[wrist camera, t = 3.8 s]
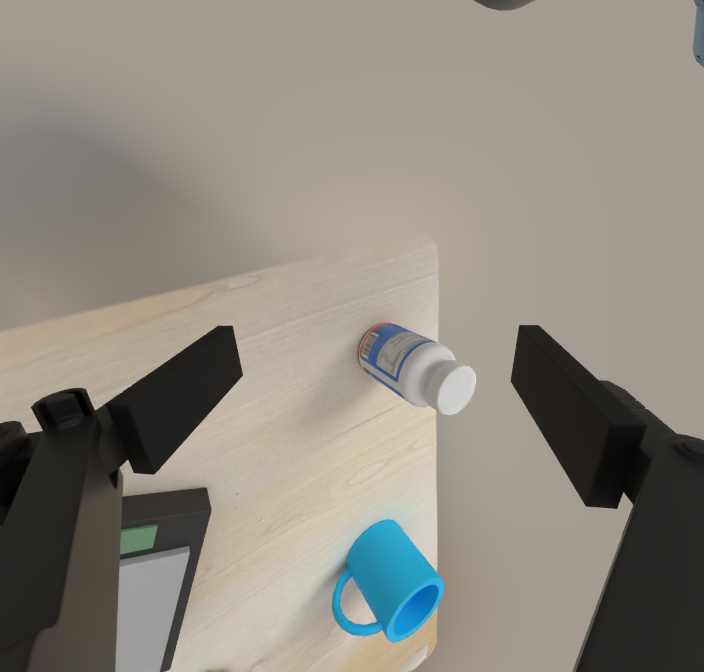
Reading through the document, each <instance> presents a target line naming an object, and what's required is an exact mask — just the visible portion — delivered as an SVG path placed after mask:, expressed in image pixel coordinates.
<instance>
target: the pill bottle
mask: <svg viewBox="0 0 704 672" xmlns="http://www.w3.org/2000/svg"><path fill="white" fill-rule="evenodd" d="M359 361H360V364H361V366H362V368H363V369H364V370H365V371H366V372H367V373H368V374H369V375H371V376H372V377H374V378H375V379H377V380H378V381H379V382H381V383H382V384H384V385H385V386H386V387H388V388H389V389H391V390H392V391H394V392H395V393H396V394H398V395H399V396H401V397H402V398H403V399H405V400H406V401H408V402H409V403H411V404H412V405H415V406H418V407H428V406H431V407H432V408H434V409H436V410H437V411H439V412H440V413H442V414H444V415H453V414H456V413H458V412H459V411H461V410H462V409H463V408H464V407H465V406H466V405H467V403H468V402H469V400H470V399H471V397H472V395H473V393H474V390H475V385H476V376H475V373H474V371H473V370H472V369H471V368H470V367H468V366H467V365H465V364H463V363H461V362H459V361H456V360H455V357H454V355H453V353H452V352H451V351H450V350H449V349H448V348H447V347H445V346H443V345H441V344H439V343H437V342H434V341H432V340H430V339H427V338H425V337H423V336H420V335H418V334H416V333H413V332H411V331H409V330H406V329H404V328H402V327H400V326H397V325H395V324H391V323H383V324H379V325H377V326H375V327H373V328H372V329H371V330H369V331H368V333H367V334H366V335H365V337H364V338H363V340H362V342H361V345H360V349H359Z"/></svg>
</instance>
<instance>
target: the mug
mask: <svg viewBox="0 0 704 672" xmlns="http://www.w3.org/2000/svg"><path fill="white" fill-rule="evenodd" d="M347 567H348V569H347V570H346V571H345V572H344V573H343V575H342V576H341V577H340V579H339V580H338V582H337V584H336V587H335V590H334V592H333V598H332V610H333V614H334V618H335V620H336V622H337V623H338V624H339V626H340V627H341V628H342V629H343V630H345V631H346V632H348V633H350V634H352V635H357V636H368V635H372V634H376V633H378V632H380V631H382V630H383V632H384V633H385V635H386V637H387V639H388V641H391V642H398V641H401V640H403V639H405V638H407V637H409V636H410V635H411V634H413V633H414V632H415V631H416V630H418V629H419V628H420V627H421V626H422V625H423V624H424V623H425V622H426V620H427V619H428V618H429V617H430V615H431V614H432V613H433V611H434V610H435V608H436V607H437V605H438V604H439V601H440V599H441V597H442V595H443V590H444V581H443V580H442V579H441V577H440V576H439V575H438V574H437V572H436V571H435V570H434V569H433V567H432V566H431V565H430V564H429V562H428V561H427V560H426V559H425V557H424V556H423V555H422V554H421V552H420V551H419V550H418V549H417V547H416V546H415V545H414V544H413V542H412V541H411V540H410V539H409V538H408V536H407V535H406V534H405V533H404V531H403V530H402V529H401V528H400V526H399V525H398V524H397V523H396V522H395V521H392V520H385V521H381V522H379V523H377V524H375V525H373V526H372V527H370V528H369V529H368V530H366V531H365V532H364V533H363V534H362V535H361V536H360V537H359V538H358V539H357V541H356V542H355V544H354V545H353V547H352V548H351V550H350V553H349V555H348V558H347ZM351 576H352V577H353V579H354V580H355V582H356V584H357V586H358V587H359V589H360V591H361V593H362V594H363V596H364V598H365V600H366V602H367V603H368V605H369V607H370V609H371V610H372V612H373V614H374V616H375V618H376V619H377V622H375V623H371V624H367V625H361V624H354V623H353V622H351V621H349V620H347V618H346V617H345V616H344V614H343V613H342V610H341V607H340V595H341V592H342V589H343V587H344V585H345V584H346V582H347V581H348V579H349V578H350V577H351Z"/></svg>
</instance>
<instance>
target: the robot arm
mask: <svg viewBox="0 0 704 672" xmlns="http://www.w3.org/2000/svg"><path fill="white" fill-rule="evenodd" d="M694 2H695V4H696V6H697V11H696V22H695V23H696V24H695V32H694V43H693V52H694V56H695V59H696V61H697V62H698V63H699V64H700V65H702V66H703V67H704V0H694ZM242 376H243V373H242V368H241V364H240V359H239V354H238V349H237V345H236V340H235V335H234V330H233V326H217V327H216V328H214V329H213V330H211V331H210V332H208V333H207V334H206V335H204V336H203V337H201V338H200V339H198V340H197V341H196V342H194V343H193V344H191V345H190V346H188V347H187V348H185V349H184V350H183V351H181V352H180V353H178V354H177V355H175V356H174V357H173V358H171V359H170V360H168V361H167V362H165V363H164V364H163V365H161V366H160V367H158V368H157V369H155V370H154V371H153V372H151V373H150V374H148V375H147V376H145V377H144V378H142V379H140V380H139V381H137V382H136V383H135V384H133V385H132V386H131V387H129V388H127V389H126V390H124V391H123V392H122V393H120V394H119V395H117V396H116V397H114V398H113V399H112V400H110V401H109V402H107V403H106V404H104V405H103V406H101V407H100V408H99V409H97V410H96V411H95V410H94V407H93V405H92V403H91V401H90V398H89V396H88V394H87V391H86V389H83V388H72V389H67V390H63V391H59V392H56V393H53V394H51V395H49V396H46V397H44V398H42V399H41V400H39V401H37V402H36V403H35V404H34V405H33V406H32V407H31V408H32V410H33V412H34V414H35V416H36V418H37V420H38V422H39V424H40V426H41V428H42V430H43V431H40V432H34V433H28V434H27V433H26V432H25V430H24V428H23V426H22V424H21V422H18V421H10V422H4V423H0V672H115V666H116V641H117V616H118V591H119V566H120V541H121V516H122V491H123V475H122V472H121V470H120V468H119V467H120V466H122V465H123V464H124V463H125V462H126V461H127V460H129V462H130V465H131V467H132V470H133V472H134V473H140V474H153V475H154V474H155V473H156V472H157V471H158V470H159V469H160V468H161V467H162V466H163V464H164V463H165V462H166V461H167V460H168V459H169V458H170V457H171V455H172V454H173V453H174V452H175V451H176V450H177V449H178V448H179V446H180V445H181V444H182V443H183V442H184V441H185V440H186V439H187V437H188V436H189V435H190V434H191V433H192V432H193V431H194V430H195V429H196V427H197V426H198V425H199V424H200V423H201V422H202V421H203V420H204V418H205V417H206V416H207V415H208V414H209V413H210V412H211V411H212V409H213V408H214V407H215V406H216V405H217V404H218V403H219V402H220V400H221V399H222V398H223V397H224V396H225V395H226V394H227V393H228V392H229V390H230V389H231V388H232V387H233V386H234V385H235V384H236V383H237V381H238V380H239V379H240V378H241V377H242ZM511 383H512V384H513V386H514V388H515V389H516V391H517V392H518V394H519V396H520V397H521V399H522V400H523V403H524V404H525V406H526V408H527V409H528V411H529V413H530V414H531V416H532V417H533V419H534V420H535V422H536V424H537V426H538V427H539V429H540V431H541V432H542V434H543V436H544V437H545V439H546V441H547V442H548V444H549V446H550V447H551V449H552V451H553V452H554V454H555V456H556V457H557V459H558V461H559V462H560V464H561V466H562V467H563V469H564V470H565V472H566V474H567V475H568V477H569V479H570V481H571V482H572V484H573V486H574V487H575V489H576V491H577V492H578V494H579V496H580V497H581V499H582V501H583V502H584V504H585V506H587V507H602V508H614V509H617V508H618V505H619V502H620V499H621V497H622V494H623V492H624V493H625V494H626V496H627V497H628V498H629V500H630V501H631V502H632V504H633V508H632V510H631V513H630V516H629V518H628V521H627V523H626V526H625V529H624V531H623V534H622V537H621V540H620V543H619V546H618V548H617V551H616V554H615V557H614V559H613V562H612V565H611V568H610V570H609V573H608V576H607V579H606V581H605V584H604V587H603V590H602V592H601V595H600V598H599V600H598V603H597V606H596V609H595V611H594V614H593V617H592V620H591V623H590V625H589V628H588V631H587V633H586V636H585V639H584V641H583V644H582V647H581V650H580V652H579V655H578V658H577V661H576V664H575V666H574V669H573V672H704V440H702V439H699V438H695V437H691V436H687V435H681V434H676V433H675V432H674V431H673V430H672V429H670V428H669V427H668V426H667V425H666V424H664V423H663V422H662V421H661V420H659V418H657V417H656V416H655V415H654V414H653V413H652V412H650V411H649V410H648V409H645V407H644V406H643V405H642V404H641V403H640V402H639V401H636V399H635V398H634V397H633V396H632V395H630V394H629V393H628V392H627V391H626V390H625V389H623V388H621V387H619V386H617V385H615V384H613V383H611V382H609V381H599V380H598V379H596V378H595V377H594V376H593V375H592V374H591V373H590V372H589V371H588V370H586V368H584V367H583V366H582V365H581V364H580V363H579V362H578V361H577V360H576V359H574V357H572V356H571V355H570V354H569V353H568V352H567V351H566V350H565V349H564V348H563V347H562V346H561V345H559V344H558V343H557V342H556V341H555V340H554V339H553V338H552V337H551V336H550V335H549V334H547V333H546V332H545V331H544V330H543V329H542V328H541V327H540V326H538V325H520V326H519V331H518V337H517V344H516V350H515V357H514V363H513V370H512V376H511Z"/></svg>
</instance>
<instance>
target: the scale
mask: <svg viewBox="0 0 704 672" xmlns="http://www.w3.org/2000/svg"><path fill="white" fill-rule="evenodd" d="M210 514H211V505H210V500H209V496H208V491H207V488H199V489H191V490H182V491H173V492H164V493H155V494H147V495H138V496H129V497H122V516H121V541H120V566H119V591H118V616H117V641H116V666H115V672H165V671H167V670H170V668H171V664H172V660H173V656H174V652H175V649H176V645H177V641H178V637H179V633H180V629H181V626H182V622H183V618H184V614H185V610H186V606H187V602H188V599H189V595H190V591H191V587H192V583H193V579H194V576H195V572H196V568H197V564H198V560H199V556H200V552H201V549H202V545H203V541H204V537H205V533H206V529H207V526H208V522H209V518H210Z"/></svg>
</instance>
